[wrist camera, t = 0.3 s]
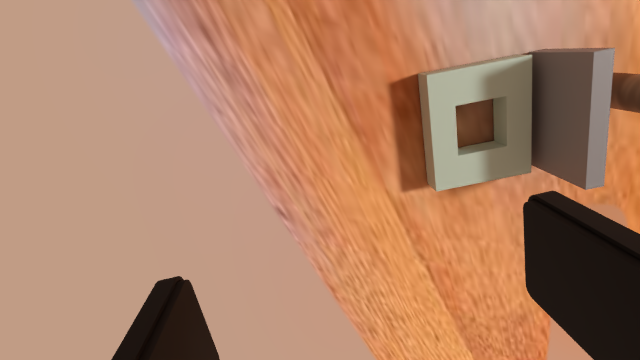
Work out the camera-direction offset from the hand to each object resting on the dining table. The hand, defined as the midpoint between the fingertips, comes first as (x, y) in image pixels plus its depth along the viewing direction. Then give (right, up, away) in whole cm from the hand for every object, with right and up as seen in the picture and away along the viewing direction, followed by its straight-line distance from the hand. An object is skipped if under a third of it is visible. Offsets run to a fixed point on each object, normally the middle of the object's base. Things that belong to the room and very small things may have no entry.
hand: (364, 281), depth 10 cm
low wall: (+26, +12, +36) cm, 46 cm away
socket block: (+17, +10, +36) cm, 41 cm away
